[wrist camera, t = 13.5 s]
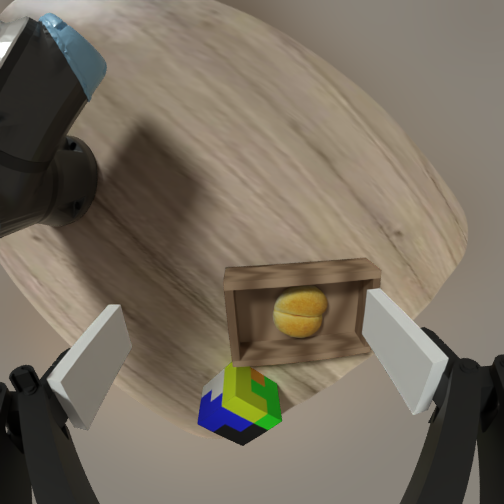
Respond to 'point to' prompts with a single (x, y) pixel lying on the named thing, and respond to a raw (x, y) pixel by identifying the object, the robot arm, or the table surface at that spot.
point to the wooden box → (263, 301)
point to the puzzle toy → (239, 404)
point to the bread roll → (299, 310)
